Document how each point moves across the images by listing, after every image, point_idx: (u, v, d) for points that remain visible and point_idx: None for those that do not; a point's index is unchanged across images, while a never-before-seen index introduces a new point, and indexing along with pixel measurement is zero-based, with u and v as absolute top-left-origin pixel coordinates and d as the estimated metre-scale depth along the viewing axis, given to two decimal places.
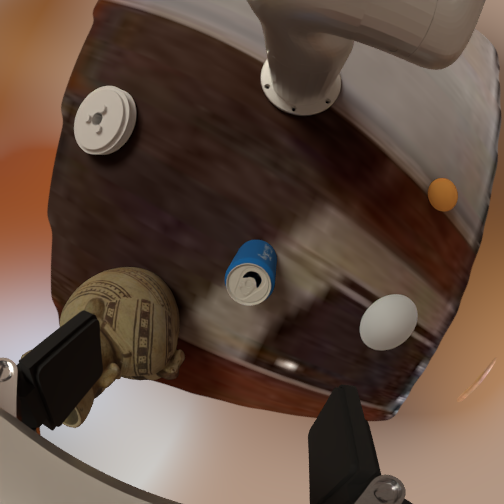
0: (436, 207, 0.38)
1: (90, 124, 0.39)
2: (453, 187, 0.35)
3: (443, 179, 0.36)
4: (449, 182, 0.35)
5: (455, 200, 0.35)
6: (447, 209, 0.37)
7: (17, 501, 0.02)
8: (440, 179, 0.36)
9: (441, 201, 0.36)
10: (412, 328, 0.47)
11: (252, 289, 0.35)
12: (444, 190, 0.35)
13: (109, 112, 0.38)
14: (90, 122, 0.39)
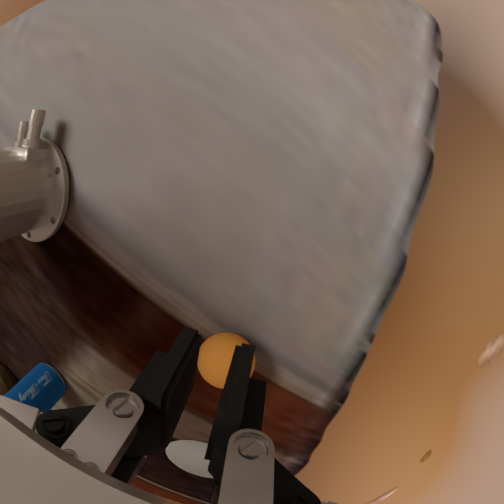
0: None
1: None
2: (229, 363, 0.23)
3: (216, 344, 0.24)
4: (224, 352, 0.23)
5: None
6: None
7: (17, 501, 0.02)
8: (212, 342, 0.24)
9: (206, 380, 0.24)
10: None
11: None
12: (207, 367, 0.23)
13: None
14: None
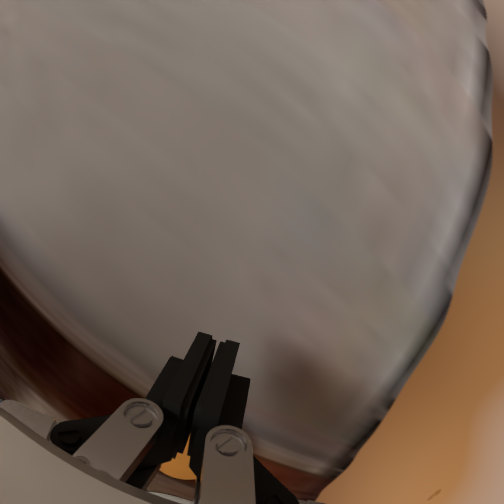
0: None
1: None
2: (183, 458, 0.13)
3: None
4: None
5: None
6: None
7: (17, 501, 0.02)
8: None
9: None
10: None
11: None
12: None
13: None
14: None
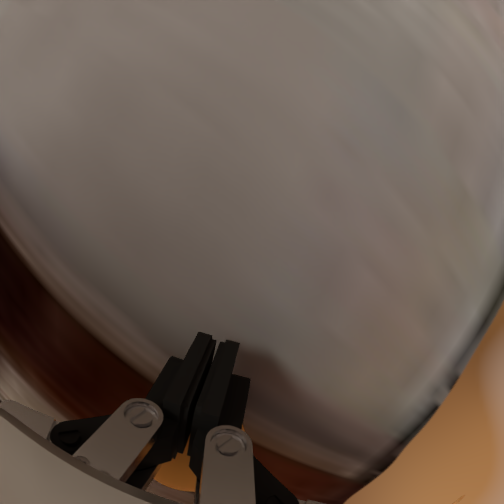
0: None
1: None
2: (187, 464, 0.08)
3: None
4: None
5: None
6: None
7: (17, 501, 0.02)
8: None
9: None
10: None
11: None
12: None
13: None
14: None
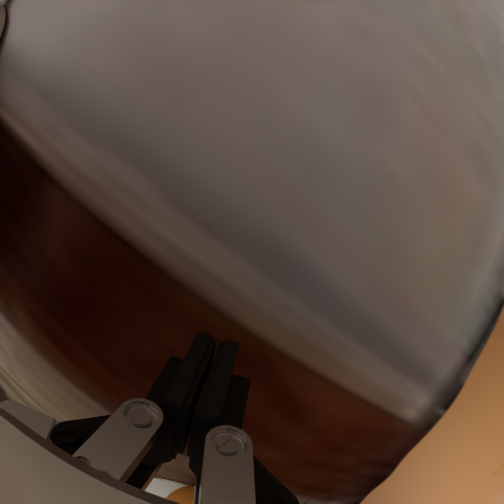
0: None
1: None
2: None
3: None
4: None
5: None
6: None
7: (17, 501, 0.02)
8: None
9: None
10: None
11: None
12: None
13: None
14: None
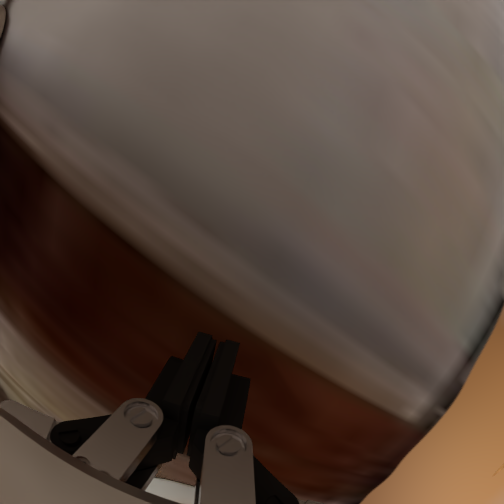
0: None
1: None
2: None
3: None
4: None
5: None
6: None
7: (17, 501, 0.02)
8: None
9: None
10: None
11: None
12: None
13: None
14: None
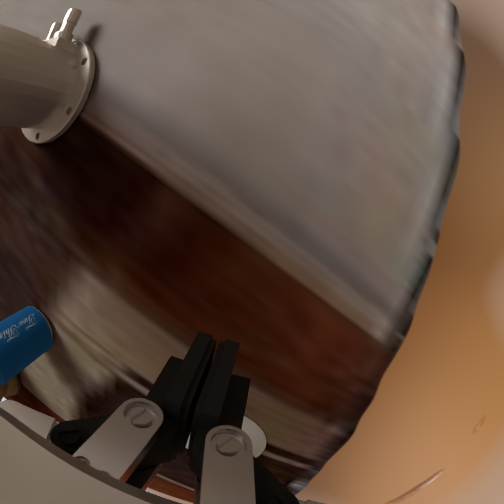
0: None
1: None
2: None
3: None
4: None
5: None
6: None
7: (17, 501, 0.02)
8: None
9: None
10: (260, 448, 0.28)
11: None
12: None
13: None
14: None
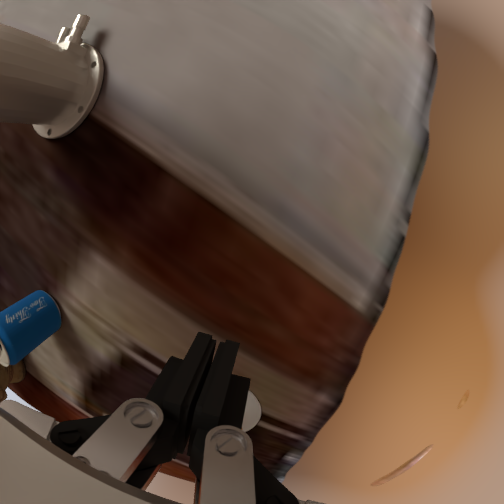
0: None
1: None
2: None
3: None
4: None
5: None
6: None
7: (17, 501, 0.02)
8: None
9: None
10: (256, 418, 0.33)
11: None
12: None
13: None
14: None
